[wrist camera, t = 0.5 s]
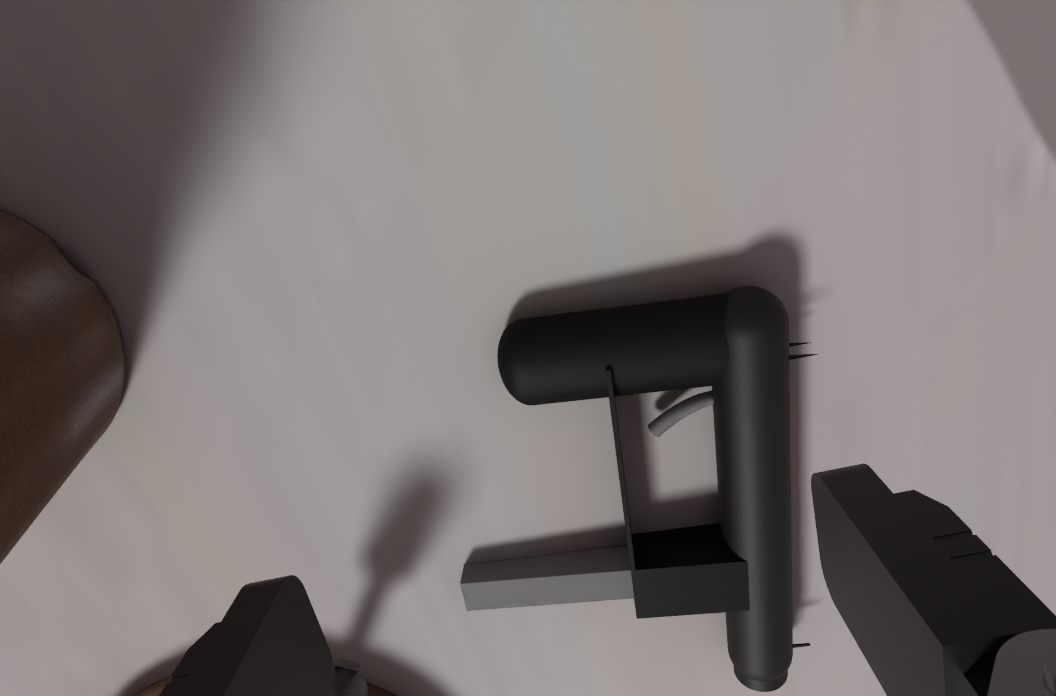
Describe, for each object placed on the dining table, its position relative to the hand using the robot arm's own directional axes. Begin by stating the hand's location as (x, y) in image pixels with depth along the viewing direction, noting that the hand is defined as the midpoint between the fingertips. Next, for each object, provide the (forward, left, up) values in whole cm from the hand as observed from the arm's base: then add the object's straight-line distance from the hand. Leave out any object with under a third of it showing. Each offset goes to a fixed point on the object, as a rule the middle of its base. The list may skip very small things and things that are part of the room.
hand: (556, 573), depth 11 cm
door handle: (+13, +2, -19) cm, 23 cm away
